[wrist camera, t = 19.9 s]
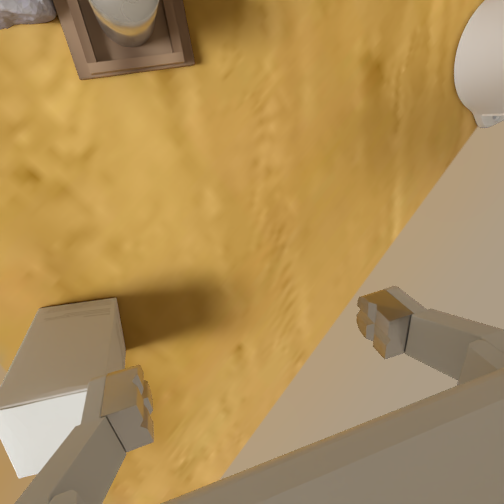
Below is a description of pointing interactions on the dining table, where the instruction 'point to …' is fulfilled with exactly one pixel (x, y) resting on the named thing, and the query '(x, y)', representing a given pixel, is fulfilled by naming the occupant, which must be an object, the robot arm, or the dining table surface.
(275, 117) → the dining table surface
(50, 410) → the supplement box
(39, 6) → the stone block
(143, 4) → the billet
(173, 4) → the brown wooden tray
